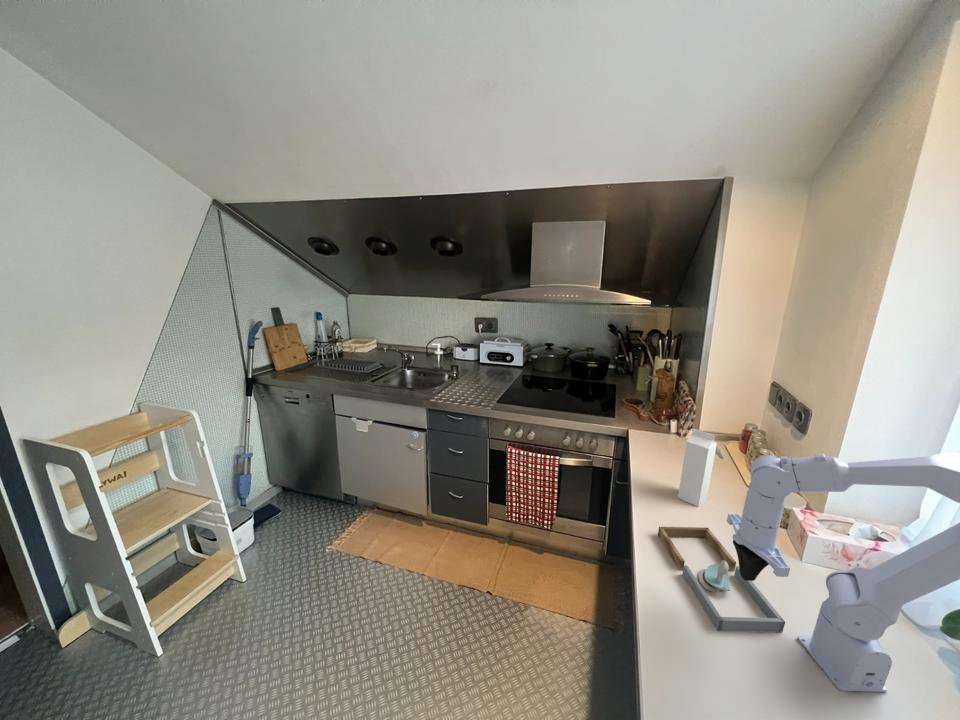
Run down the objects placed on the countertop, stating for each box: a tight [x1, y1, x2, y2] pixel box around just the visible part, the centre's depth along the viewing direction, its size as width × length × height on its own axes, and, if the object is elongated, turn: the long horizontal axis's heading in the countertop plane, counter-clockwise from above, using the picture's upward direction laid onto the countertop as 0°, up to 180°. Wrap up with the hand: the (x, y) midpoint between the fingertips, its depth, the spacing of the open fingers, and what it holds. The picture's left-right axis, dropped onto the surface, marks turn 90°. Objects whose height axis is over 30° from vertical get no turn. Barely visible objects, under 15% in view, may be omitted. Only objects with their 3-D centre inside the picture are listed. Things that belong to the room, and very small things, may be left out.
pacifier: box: [698, 560, 732, 592], centre depth 85 cm, size 7×6×6 cm
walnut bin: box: [657, 526, 737, 572], centre depth 95 cm, size 12×13×2 cm
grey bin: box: [681, 564, 786, 633], centre depth 81 cm, size 14×13×2 cm
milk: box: [677, 428, 718, 508], centre depth 113 cm, size 6×6×22 cm
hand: (747, 577), depth 76 cm, fingers closed
